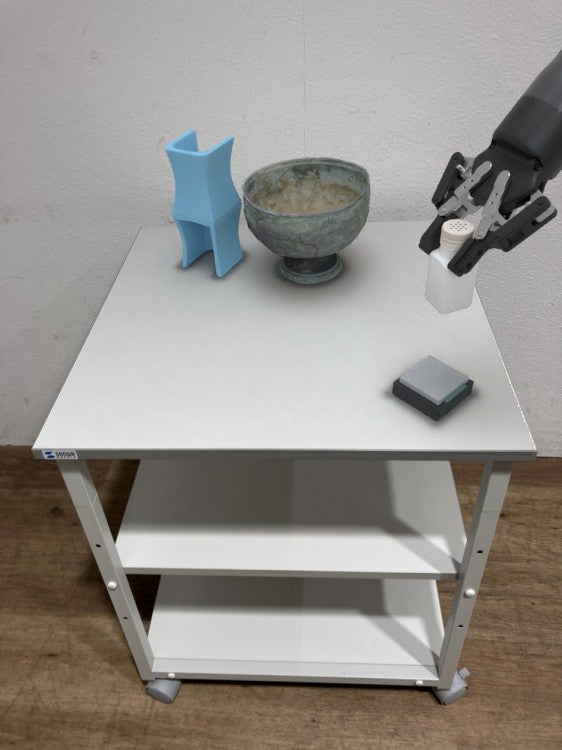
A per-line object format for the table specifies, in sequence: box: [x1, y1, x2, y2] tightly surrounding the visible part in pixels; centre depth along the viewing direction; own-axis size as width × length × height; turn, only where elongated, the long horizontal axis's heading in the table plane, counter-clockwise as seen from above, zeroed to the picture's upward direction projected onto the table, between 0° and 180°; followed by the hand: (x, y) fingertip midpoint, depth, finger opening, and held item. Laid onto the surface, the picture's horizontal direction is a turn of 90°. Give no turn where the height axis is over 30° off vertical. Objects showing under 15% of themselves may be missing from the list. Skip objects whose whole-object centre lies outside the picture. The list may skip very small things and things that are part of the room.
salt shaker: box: [424, 219, 480, 315], centre depth 66 cm, size 4×4×10 cm
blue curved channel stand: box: [164, 129, 244, 278], centre depth 98 cm, size 8×8×20 cm
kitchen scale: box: [391, 354, 475, 422], centre depth 77 cm, size 7×7×3 cm
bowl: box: [241, 156, 371, 285], centre depth 96 cm, size 20×19×15 cm
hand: (438, 261), depth 64 cm, fingers closed on salt shaker, 4 cm apart
